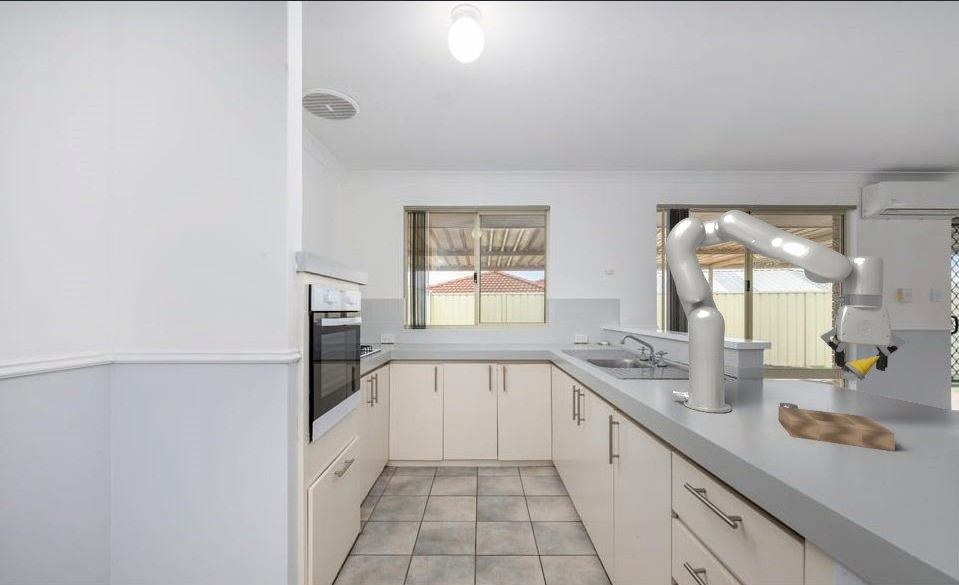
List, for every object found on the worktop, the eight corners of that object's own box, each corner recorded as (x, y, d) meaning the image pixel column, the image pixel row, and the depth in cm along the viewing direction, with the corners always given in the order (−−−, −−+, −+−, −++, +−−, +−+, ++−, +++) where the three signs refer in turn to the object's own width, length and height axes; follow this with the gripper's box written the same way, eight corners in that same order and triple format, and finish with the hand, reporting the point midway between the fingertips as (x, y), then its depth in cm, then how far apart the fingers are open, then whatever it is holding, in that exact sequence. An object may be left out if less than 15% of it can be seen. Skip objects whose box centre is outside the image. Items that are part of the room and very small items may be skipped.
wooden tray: (791, 436, 91) (790, 420, 91) (778, 420, 104) (778, 406, 104) (894, 451, 83) (894, 433, 83) (867, 432, 95) (867, 416, 95)
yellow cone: (839, 377, 104) (876, 356, 100) (854, 389, 99) (894, 367, 95) (828, 365, 103) (865, 344, 99) (843, 377, 98) (883, 355, 94)
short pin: (781, 419, 105) (781, 405, 105) (778, 415, 108) (778, 402, 108) (799, 421, 103) (799, 407, 103) (796, 418, 106) (795, 404, 106)
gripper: (823, 300, 101) (821, 366, 100) (916, 303, 92) (914, 375, 92) (815, 301, 107) (813, 362, 107) (901, 303, 99) (899, 370, 98)
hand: (860, 367), depth 99 cm, fingers closed on yellow cone, 7 cm apart
